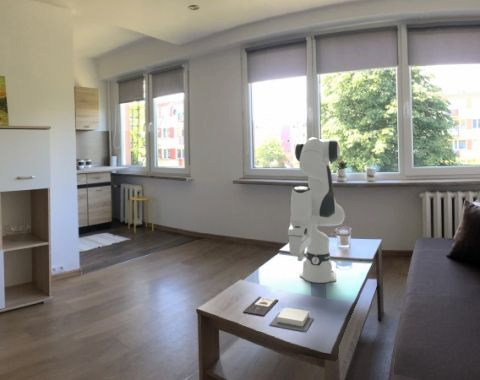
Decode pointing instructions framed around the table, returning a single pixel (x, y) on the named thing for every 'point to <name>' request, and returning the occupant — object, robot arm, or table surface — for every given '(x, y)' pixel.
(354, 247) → the table surface
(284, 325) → the mat
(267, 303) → the chocolate bar
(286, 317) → the tile
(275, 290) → the table surface
